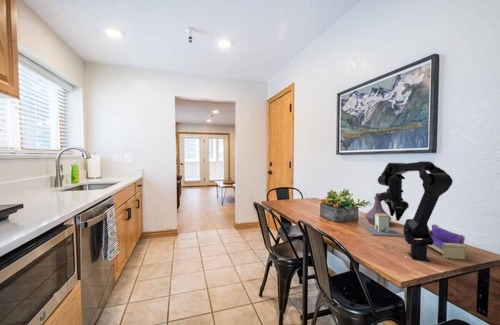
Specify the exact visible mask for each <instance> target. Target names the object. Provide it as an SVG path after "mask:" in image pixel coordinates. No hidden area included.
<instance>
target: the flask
mask: <svg viewBox="0 0 500 325" xmlns="http://www.w3.org/2000/svg"><path fill="white" fill-rule="evenodd" d="M379 193H380V192H378V193H375V196H374V197H373V198H374V204H373V207H372V208H371V209H370V210H369V211H368V212H366V213H365V214H364V217H365V219H366V220H368V222H369V224H372V225H375V213H380V214H386V215H388V216H389V222H391V221H392V216H391V215H390V214H388V213H387V212H386V211H385V209H384V208H383V206H382V201H381V202H379V201H378V200H377V198H376V194H379Z"/></svg>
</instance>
